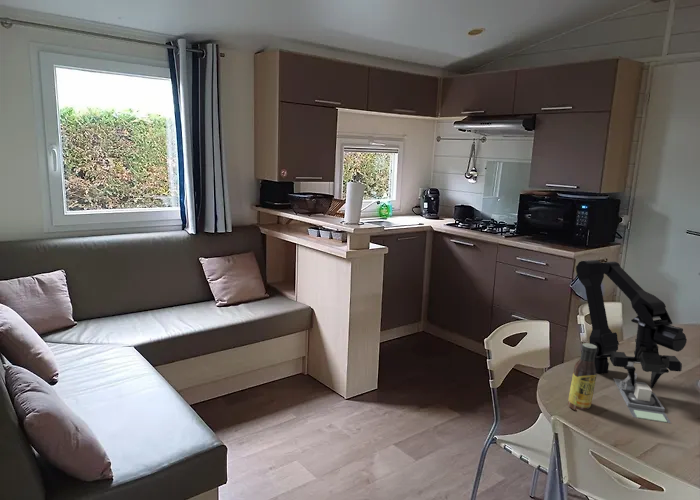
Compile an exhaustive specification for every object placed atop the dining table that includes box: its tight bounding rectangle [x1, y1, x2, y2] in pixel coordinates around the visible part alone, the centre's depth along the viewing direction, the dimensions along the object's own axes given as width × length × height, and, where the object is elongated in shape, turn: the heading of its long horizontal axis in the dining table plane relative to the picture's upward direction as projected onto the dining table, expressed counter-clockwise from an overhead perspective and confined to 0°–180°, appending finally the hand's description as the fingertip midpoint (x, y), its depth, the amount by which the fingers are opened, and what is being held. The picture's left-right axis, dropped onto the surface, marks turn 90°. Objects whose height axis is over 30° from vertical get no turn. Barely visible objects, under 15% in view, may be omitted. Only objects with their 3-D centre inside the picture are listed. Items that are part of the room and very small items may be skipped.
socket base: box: [613, 377, 672, 424], centre depth 157 cm, size 10×25×2 cm, turn 165°
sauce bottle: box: [567, 342, 598, 411], centre depth 151 cm, size 7×6×20 cm
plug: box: [628, 383, 655, 406], centre depth 155 cm, size 7×7×5 cm
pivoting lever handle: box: [619, 372, 638, 390], centre depth 163 cm, size 3×11×3 cm, turn 137°
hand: (642, 386), depth 160 cm, fingers open, 5 cm apart
